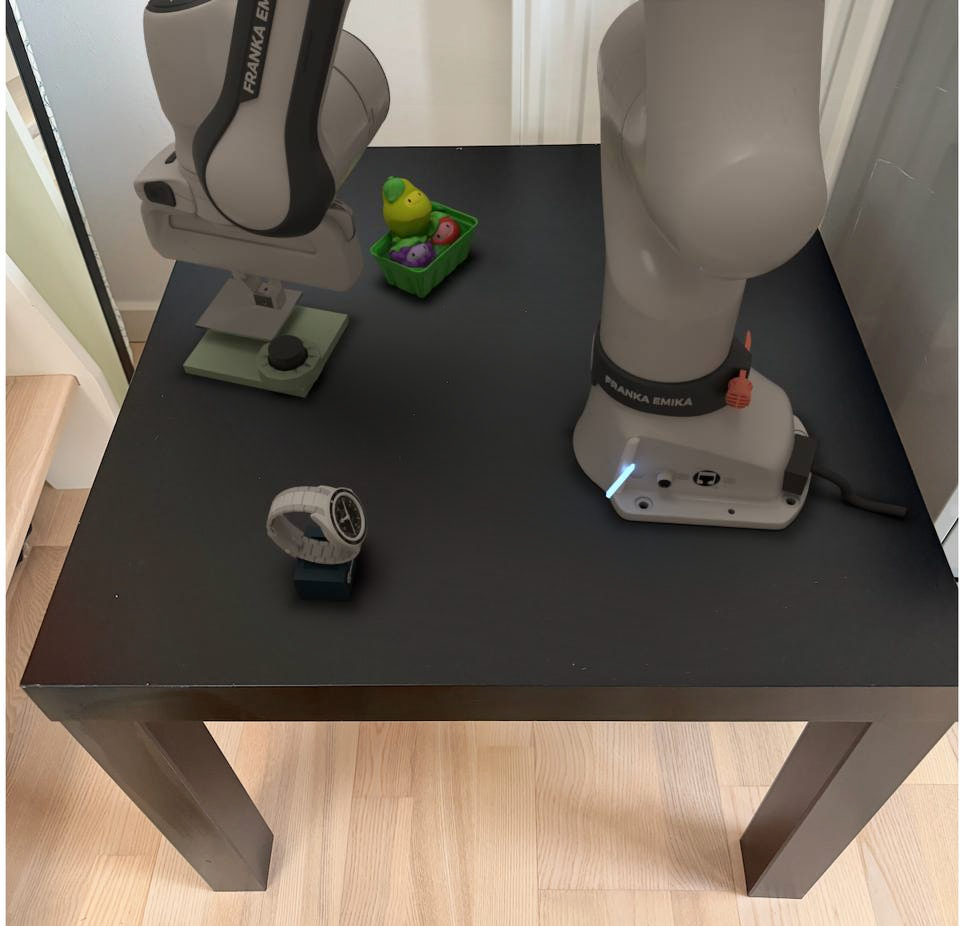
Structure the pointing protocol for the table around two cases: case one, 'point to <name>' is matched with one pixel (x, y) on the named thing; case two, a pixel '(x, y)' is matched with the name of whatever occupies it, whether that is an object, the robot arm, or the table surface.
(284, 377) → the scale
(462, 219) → the fruit basket
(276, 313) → the weigh plate
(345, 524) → the watch
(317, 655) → the table surface
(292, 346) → the knob
